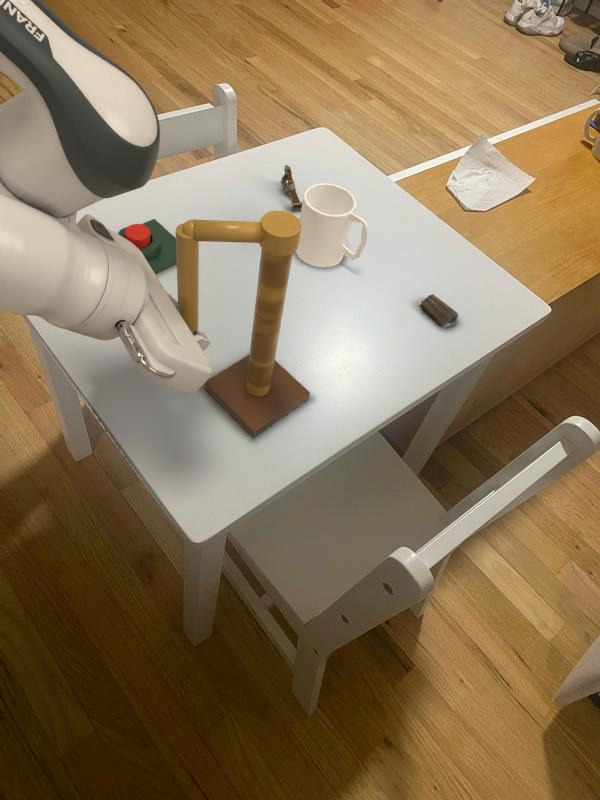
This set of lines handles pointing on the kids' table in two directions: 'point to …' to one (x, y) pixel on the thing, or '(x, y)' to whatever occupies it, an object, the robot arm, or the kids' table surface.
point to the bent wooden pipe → (271, 233)
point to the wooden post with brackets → (291, 188)
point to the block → (439, 311)
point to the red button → (138, 235)
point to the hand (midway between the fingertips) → (194, 328)
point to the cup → (328, 225)
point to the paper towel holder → (261, 359)
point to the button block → (158, 247)
